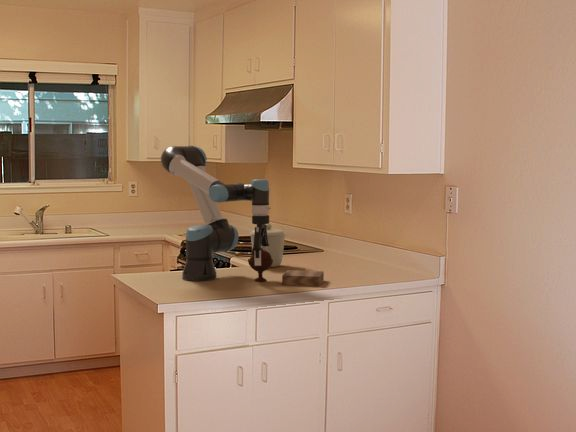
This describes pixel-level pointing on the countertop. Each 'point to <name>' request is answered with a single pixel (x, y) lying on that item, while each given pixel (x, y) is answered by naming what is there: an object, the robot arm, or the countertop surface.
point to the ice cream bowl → (265, 264)
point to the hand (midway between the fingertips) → (261, 263)
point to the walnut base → (303, 278)
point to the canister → (273, 244)
